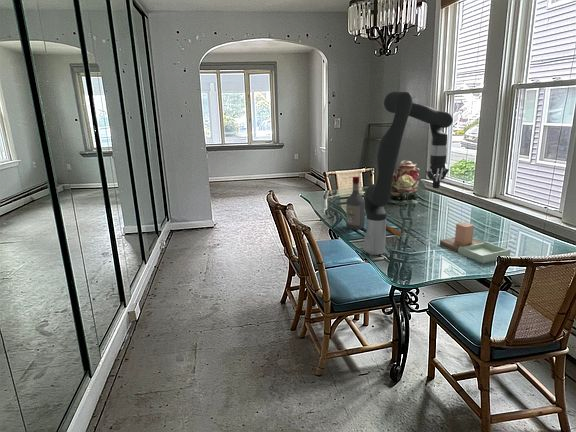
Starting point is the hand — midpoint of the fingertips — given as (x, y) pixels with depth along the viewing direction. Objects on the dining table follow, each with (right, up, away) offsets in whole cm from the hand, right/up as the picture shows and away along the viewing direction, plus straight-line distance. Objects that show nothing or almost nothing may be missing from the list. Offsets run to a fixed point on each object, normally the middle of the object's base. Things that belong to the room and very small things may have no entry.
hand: (436, 188), depth 195 cm
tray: (+15, -33, -18) cm, 40 cm away
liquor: (-36, -21, +29) cm, 51 cm away
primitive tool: (-17, -23, +22) cm, 36 cm away
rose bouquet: (+8, -4, +85) cm, 85 cm away
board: (+10, -29, -6) cm, 32 cm away
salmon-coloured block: (+11, -27, -7) cm, 30 cm away
